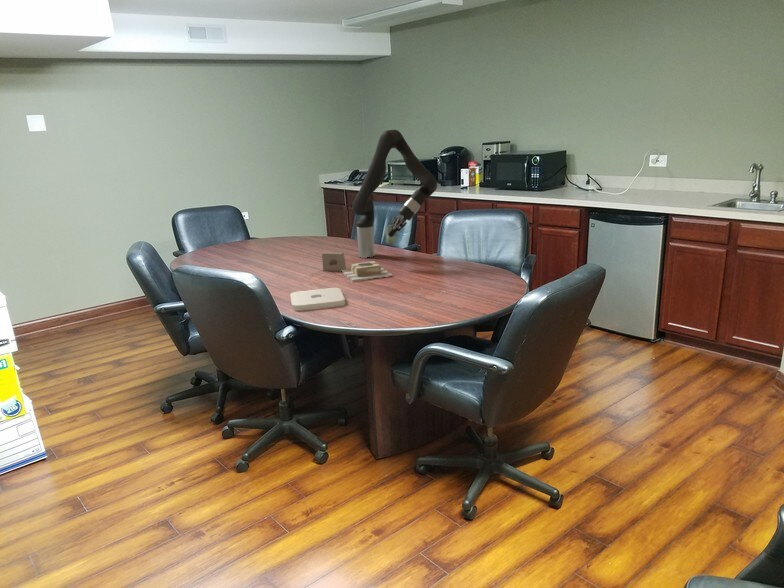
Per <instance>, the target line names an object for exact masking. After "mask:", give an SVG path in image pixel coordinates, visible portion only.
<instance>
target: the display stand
mask: <svg viewBox="0 0 784 588" xmlns="http://www.w3.org/2000/svg"><path fill="white" fill-rule="evenodd" d="M350 267H351V268H350V269H349V268H348V269H346V270H341V271H342V272H341V273H342V274H343V275H344V277H346V278H347V279H348V280H350V282H352V283H355V282H356V281H357V282H362V281H361V280H364V281H368V280H367V279H371V280H374V279H373V278H379V277H385V276H391V275H392V276H393V274H392V273H390V272H389V271H388V270H386V269H384V268H383V267H381V264H379V263H378V262H377V261H374V260H369V261H362V262H354V263H350ZM379 279H380V278H379Z"/></svg>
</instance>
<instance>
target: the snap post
mask: <svg viewBox="0 0 784 588" xmlns="http://www.w3.org/2000/svg"><path fill="white" fill-rule="evenodd" d="M393 228H394V226H393V225H389V224H388V226H385V227H384V231H385V232H384V233H385V234H384V235H385V243H386V244H389V245H391V244H394V245H395V244H397V243H398V239H397V235H398V234H397V232H396V233H395V234H394V235H393V236H392V237H390V236H389V235H388V234H389V233H390V232H391V230H392V229H393Z"/></svg>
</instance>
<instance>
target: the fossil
mask: <svg viewBox="0 0 784 588" xmlns="http://www.w3.org/2000/svg"><path fill="white" fill-rule="evenodd" d="M321 259H322V261H321V262H322V271H323V272H324V271H325V272H338V271H341V270H347V265H346V257H345V254H344V252H331V251H329V252H328V251H323V252H322V253H321Z"/></svg>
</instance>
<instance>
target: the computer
mask: <svg viewBox="0 0 784 588" xmlns="http://www.w3.org/2000/svg"><path fill="white" fill-rule="evenodd" d="M290 302H291V309H292V311H295V312H296V311H298V312H299V311H309V310H311V311H312V310H318V309H319V310H321V309H328V308H329V309H330V308H336V307H342V306H345V304H346V299H345V295H344V294H343V291H342V290H341V288H340V287H329V288H327V287H326V288H318V289H309V290H300V291H293V292H290Z"/></svg>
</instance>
